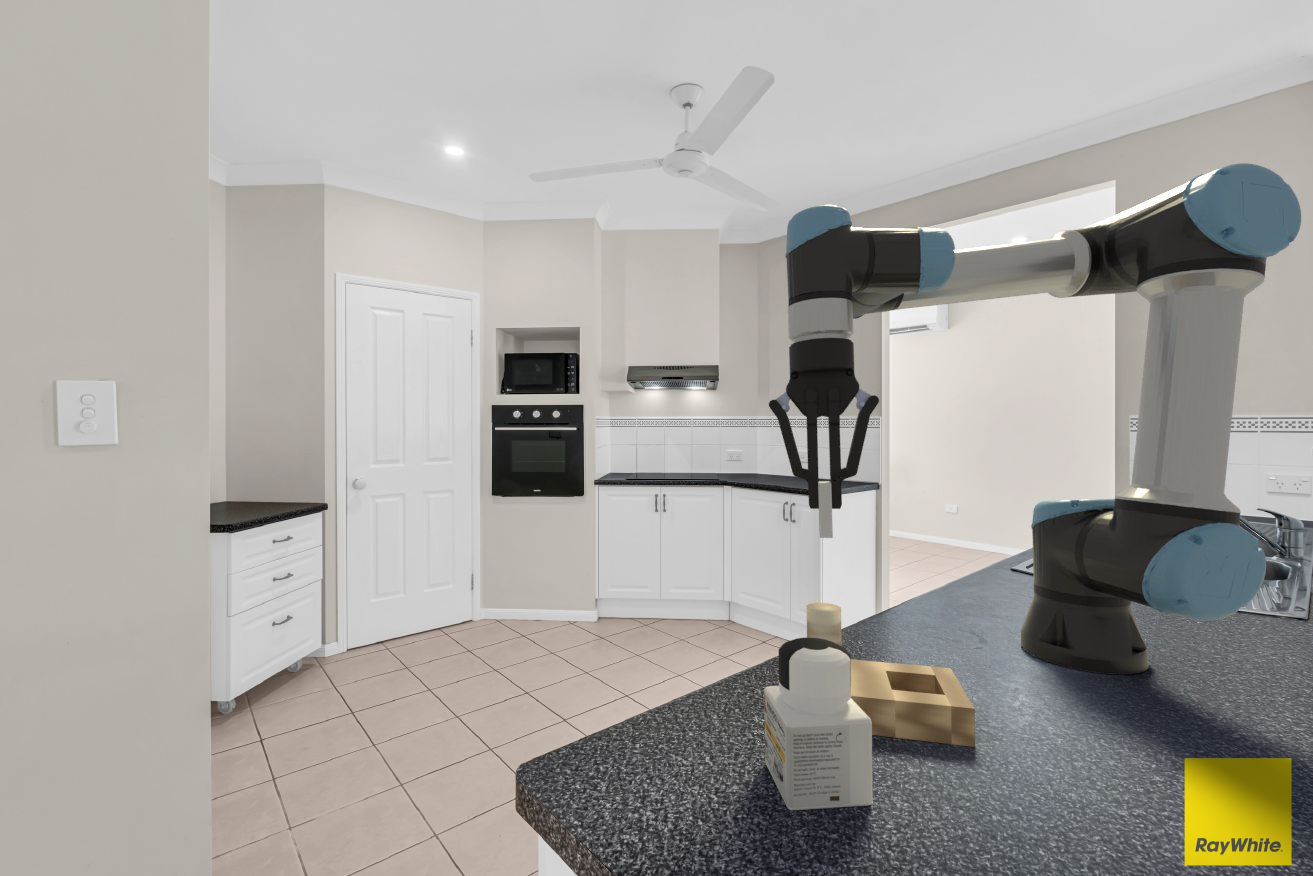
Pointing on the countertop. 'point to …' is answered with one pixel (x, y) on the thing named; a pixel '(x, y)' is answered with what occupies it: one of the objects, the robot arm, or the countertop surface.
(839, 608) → the peg
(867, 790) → the container
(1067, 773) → the countertop surface
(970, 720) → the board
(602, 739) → the countertop surface
